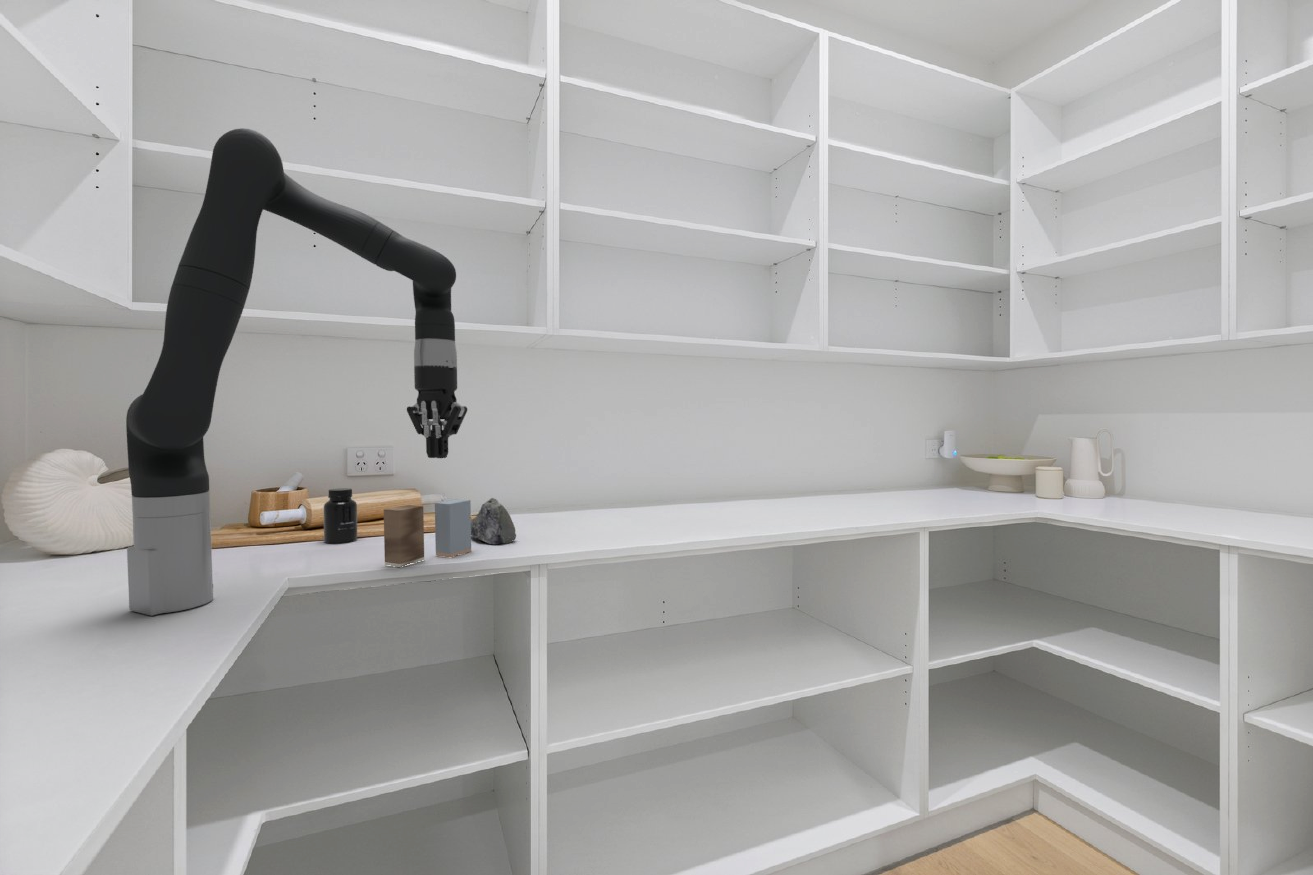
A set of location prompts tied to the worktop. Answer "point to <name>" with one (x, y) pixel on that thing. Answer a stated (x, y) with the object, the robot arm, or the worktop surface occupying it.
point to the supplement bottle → (340, 517)
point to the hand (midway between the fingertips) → (437, 457)
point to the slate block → (453, 527)
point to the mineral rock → (493, 524)
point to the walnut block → (403, 535)
